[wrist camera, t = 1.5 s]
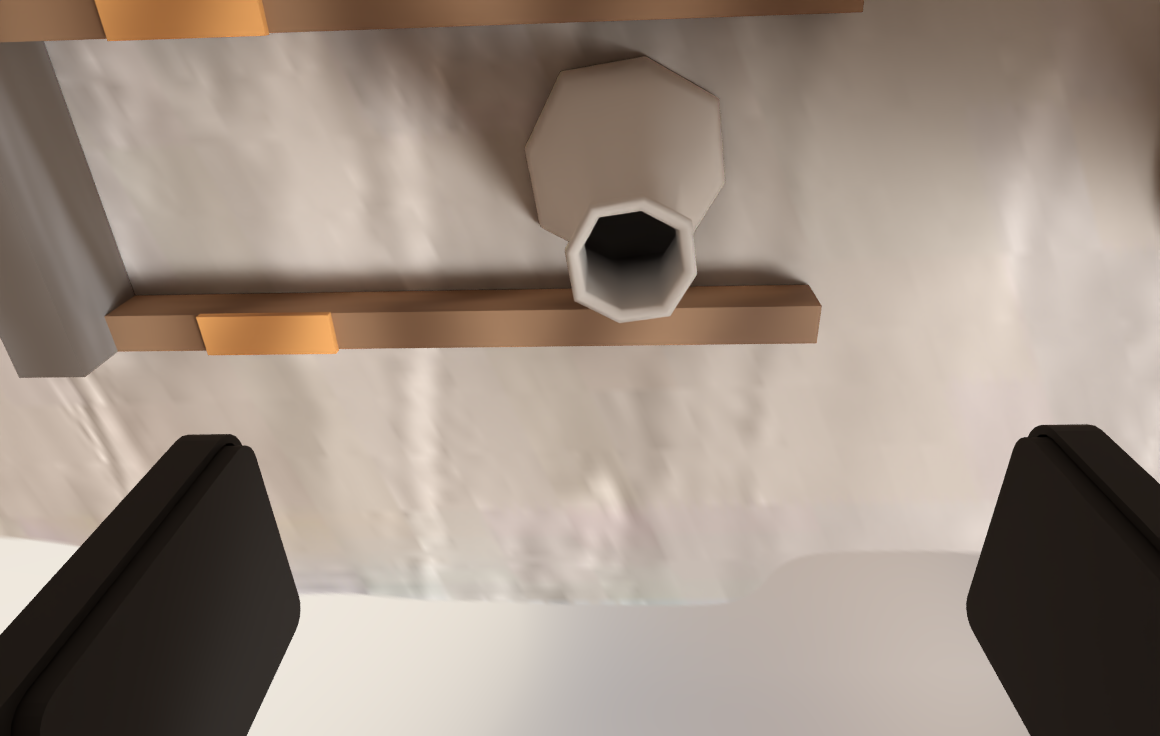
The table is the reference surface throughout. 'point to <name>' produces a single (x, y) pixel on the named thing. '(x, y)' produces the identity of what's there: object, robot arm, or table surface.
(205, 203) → the table surface
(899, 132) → the table surface
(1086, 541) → the robot arm
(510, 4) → the guide channel
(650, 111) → the flask
